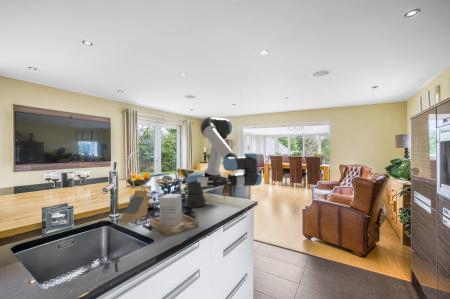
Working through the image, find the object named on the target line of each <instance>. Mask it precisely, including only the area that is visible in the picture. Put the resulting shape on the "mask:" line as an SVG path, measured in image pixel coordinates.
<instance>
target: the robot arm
mask: <svg viewBox="0 0 450 299" xmlns="http://www.w3.org/2000/svg"><path fill="white" fill-rule="evenodd" d="M232 131H233V126H232V122H231V121H230V120H229V119H227V118H223V117H212V116H211V117H210V116H209V117H206V118H204V119H203V120H202V122H201V123H200V132H201V134H202V136H203V137H204V138H205V139H207V140H208V141H209V142H210V144H211V147H210V152H209V157H208V164H207V168H206V169H205V170H204V173H203V172H201V171H199V172H191V173H189V174H188V175H187V177H186V194H187V195H186V198H185V201H184V207H185V208H188V209H197V208H198V209H200V208H203V207H205V206H206V205H207V201H206V198H205V195H204V190H210V189H216V188H220V187H224V186H228V187H229V188H233V187H234V188H236V187H239V188H241V187H251V186H252V187H255V186H259V185H261V183H262V174H261V173H260V172H258V154H257V153H256V152H245V153H244V156H237V154H236V153H235V152H234V151H233V150H232V148H231V147H230V146H229V144H227V142H226V141H225V140H227V139H228V136H230V135H231V133H232ZM221 160H222V166H223V168H224V170H225V171H229V172H234V171H244V172H238V173H229V174H228V175H227V177H225V176H222V174H221V172H220V165H221Z"/></svg>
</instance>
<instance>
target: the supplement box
mask: <svg viewBox="0 0 450 299" xmlns="http://www.w3.org/2000/svg"><path fill="white" fill-rule="evenodd" d="M182 206H183V205H182V194H181V193H166V194H164V195H162V196H161V197H159V216H160V225H162V226H166V227H175V226H178V225H179V224H180V222H181V221H182V214H183V211H182V210H183V208H182Z"/></svg>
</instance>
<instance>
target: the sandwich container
mask: <svg viewBox="0 0 450 299" xmlns="http://www.w3.org/2000/svg"><path fill="white" fill-rule="evenodd" d="M146 215H148V191H147V190H134V192H133V195H132V197H131V199H130V200H129V203H128V205H127V206H126V209H125V211H124V212H123V215H122V216H121V218H120V221H119V222H123V221H126V222H127V223H133V222H135V221H137V220H139V219H141V218H143V217H145V216H146ZM126 222H125V223H126Z"/></svg>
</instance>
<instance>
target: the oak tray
mask: <svg viewBox="0 0 450 299" xmlns="http://www.w3.org/2000/svg"><path fill="white" fill-rule="evenodd" d="M199 223H200V222H199V220H198V219H195V218H193V217H191V216H189V215H186V214H184V213H182V221H181V222H180V224H179V225H178V226H175V227H166V226H162V225H160V217H155V218H151V219H149V226H151V228H152V229H155V230H156V231H158V232H159V233H161V234H162V235H164V236H165V237H168V236H171V235H174V234H175V235H176V234H178V233H182V232H185V231H188V230H191V229H195V228H199V226H200V224H199Z"/></svg>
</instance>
